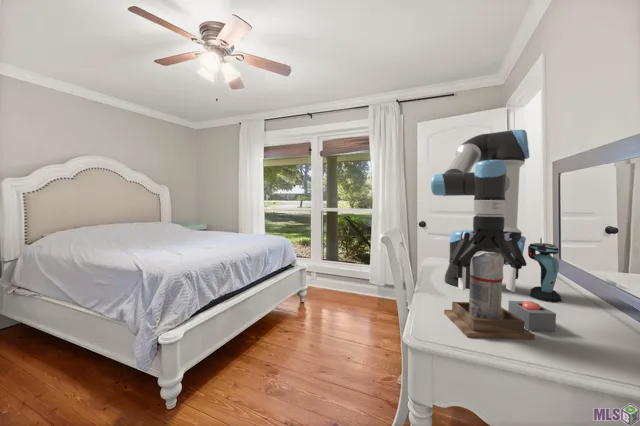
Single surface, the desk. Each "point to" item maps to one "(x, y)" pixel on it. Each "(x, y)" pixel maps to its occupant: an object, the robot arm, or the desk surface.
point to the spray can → (486, 285)
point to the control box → (533, 317)
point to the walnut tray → (487, 324)
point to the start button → (531, 305)
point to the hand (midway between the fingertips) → (486, 289)
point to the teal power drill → (545, 271)
